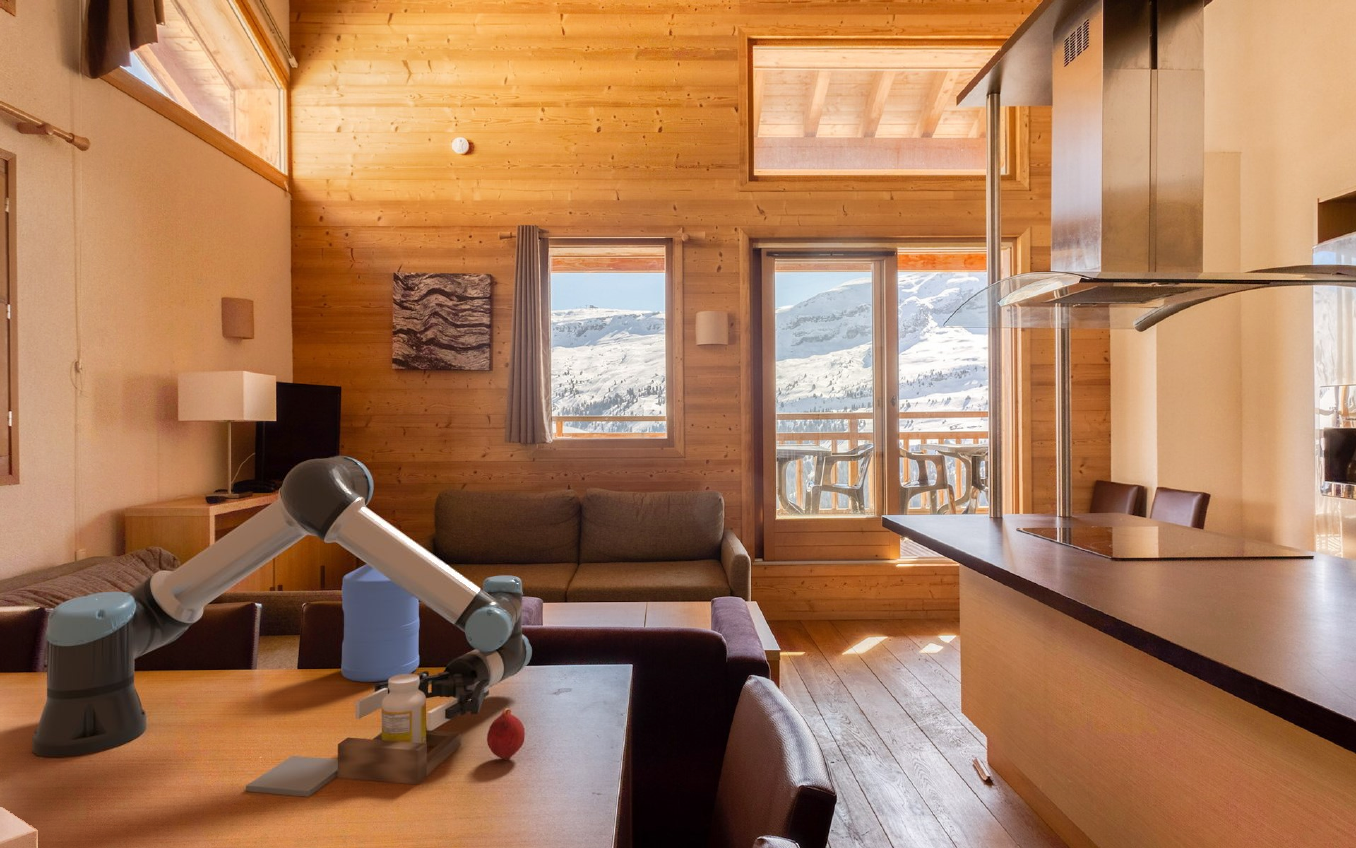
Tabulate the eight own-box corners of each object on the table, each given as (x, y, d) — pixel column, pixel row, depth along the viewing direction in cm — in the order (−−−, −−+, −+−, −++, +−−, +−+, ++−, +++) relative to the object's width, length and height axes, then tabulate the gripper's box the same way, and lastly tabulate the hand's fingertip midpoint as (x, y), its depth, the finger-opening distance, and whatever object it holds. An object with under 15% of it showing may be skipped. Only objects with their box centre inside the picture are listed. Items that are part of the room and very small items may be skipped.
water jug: (434, 667, 164) (435, 539, 164) (371, 688, 151) (372, 549, 151) (388, 656, 172) (389, 534, 172) (325, 675, 159) (326, 543, 159)
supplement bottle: (411, 746, 123) (412, 668, 123) (434, 758, 119) (434, 677, 119) (373, 760, 118) (373, 679, 118) (395, 773, 114) (395, 688, 114)
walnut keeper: (337, 777, 112) (337, 744, 112) (388, 739, 126) (388, 709, 126) (418, 784, 110) (418, 750, 110) (460, 745, 124) (461, 714, 124)
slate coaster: (245, 791, 108) (245, 785, 108) (292, 761, 118) (292, 755, 118) (308, 797, 106) (308, 791, 106) (350, 765, 116) (350, 760, 116)
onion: (515, 769, 115) (515, 717, 115) (480, 766, 116) (480, 714, 116) (530, 753, 121) (530, 704, 121) (497, 750, 122) (497, 701, 122)
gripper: (533, 702, 132) (460, 751, 112) (416, 686, 140) (328, 729, 120) (533, 660, 132) (461, 701, 112) (416, 646, 140) (329, 682, 120)
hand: (392, 715), depth 116 cm, fingers open, 13 cm apart
